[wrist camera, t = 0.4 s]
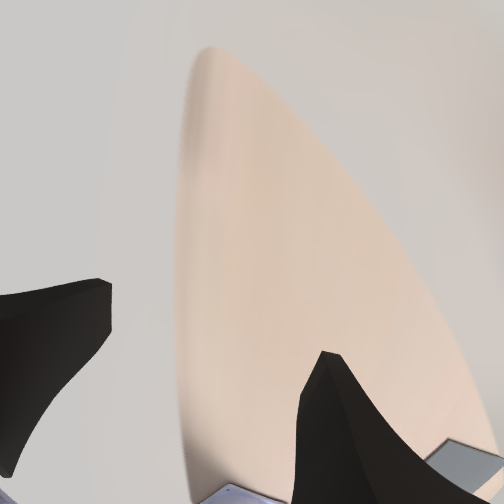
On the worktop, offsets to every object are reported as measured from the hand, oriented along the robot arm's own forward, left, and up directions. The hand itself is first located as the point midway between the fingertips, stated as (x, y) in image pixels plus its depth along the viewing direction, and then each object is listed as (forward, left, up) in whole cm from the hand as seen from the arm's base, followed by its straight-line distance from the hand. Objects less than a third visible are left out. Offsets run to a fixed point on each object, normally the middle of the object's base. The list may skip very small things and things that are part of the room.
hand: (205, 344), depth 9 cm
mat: (-10, -35, -11) cm, 38 cm away
